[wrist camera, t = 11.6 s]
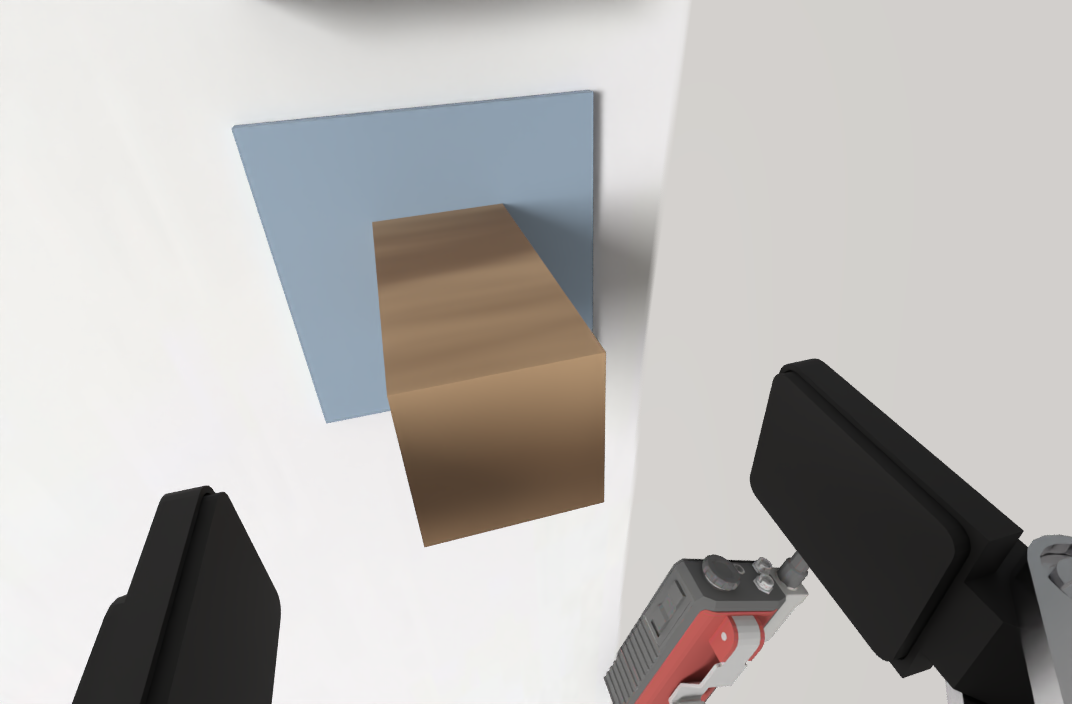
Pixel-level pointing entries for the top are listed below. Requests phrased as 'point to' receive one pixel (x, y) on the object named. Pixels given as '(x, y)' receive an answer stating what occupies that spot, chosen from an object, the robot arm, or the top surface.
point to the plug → (486, 374)
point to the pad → (410, 211)
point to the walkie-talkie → (704, 628)
